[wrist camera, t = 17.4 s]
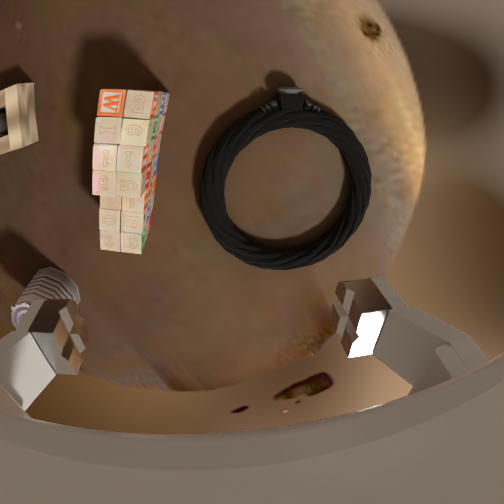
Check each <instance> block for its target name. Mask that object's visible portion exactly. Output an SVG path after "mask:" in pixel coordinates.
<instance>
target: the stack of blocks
mask: <svg viewBox="0 0 504 504" xmlns="http://www.w3.org/2000/svg"><path fill="white" fill-rule="evenodd" d="M169 95H170V93H167V92H162V91H150V90H136V89H101V90H100V95H99V103H98V110H97V117H96V122H95V134H94V143H95V144H94V145H93V162H92V168H93V172H92V195H100V208H99V229H100V249H103V250H111V251H118V252H120V251H122V252H128V253H136V254H142V251H143V249H144V246H145V241H146V238H147V235H148V232H149V229H150V226H151V216H152V208H153V200H154V190H155V182H156V174H157V172H156V170H157V163H158V156H159V148H160V141H161V135H162V132H163V126H164V120H165V115H166V110H167V105H168V100H169Z"/></svg>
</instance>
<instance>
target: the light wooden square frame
mask: <svg viewBox="0 0 504 504" xmlns="http://www.w3.org/2000/svg"><path fill="white" fill-rule="evenodd" d="M5 108H6V116H7V126H8V135H6V136H5V131H4V132H1V133H0V154H3V153H6V152H9V151H12V150H16V149H19V148H22V147H25V146H27V145H29V144H32V143H34V142H37V141H38V133H37V124H36V114H35V101H34V83H20V84H15V85H13V86H10V87H8V88H6V89H4V90H1V91H0V114H3V109H5Z"/></svg>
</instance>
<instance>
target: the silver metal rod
mask: <svg viewBox="0 0 504 504" xmlns="http://www.w3.org/2000/svg"><path fill="white" fill-rule="evenodd" d="M7 130H8V126H7V116H6V113H3V114H0V133H1V132H4V131H7Z"/></svg>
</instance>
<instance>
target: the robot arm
mask: <svg viewBox="0 0 504 504" xmlns="http://www.w3.org/2000/svg"><path fill="white" fill-rule="evenodd" d="M335 293H336V295H337V297H338V299H337V300H336V301H335V302H334V303H333V307H332V322H333V326H334V328H335V331H336V332H337V333H338V334H340V335H342V336H343V337H342V341H341V344H342V345H343V348H344V350H345V352H346V354H347V356H348V358H351V357H356V356H361V355H367V354H372V353H373V354H372V355H373V356H375V357H376V358H377V359H379V360H380V361H381V362H383V363H384V364H385V365H386V366H388V367H389V368H390V369H392V370H393V371H394V372H396V373H397V374H398V375H399V376H401V377H402V378H403V379H405V380H406V381H407V382H409V383H410V384H411V385H412V386H413V387H412V389H411V391H410V392H409V393H408V395H407V396H404V397H402V398H399V399H395V400H392V401H390V402H386V403H383V404H379V405H376V406H373V407H369V408H366V409H362V410H358V411H354V412H351V413H346V414H343V415H338V416H334V417H329V418H325V419H320V420H315V421H309V422H304V423H298V424H293V425H287V426H280V427H273V428H266V429H258V430H248V431H238V432H225V433H210V434H139V433H123V432H112V431H102V430H93V429H86V428H78V427H72V426H66V425H60V424H55V423H49V422H45V421H40V420H35V419H32V418H31V417H30V416H29V415H28V414H27V413H26V412H25V410H26V409H27V408H28V407H29V406H30V404H31V403H32V402H33V401H34V400H35V398H36V397H37V396H38V395H39V394H40V393H41V391H42V390H43V389H44V388H45V387H46V386H47V385H48V383H49V382H50V381H51V380H52V379H53V378H54V377H55V375H56V374H73V375H77V374H78V371H79V367H80V364H81V361H82V357H81V355H80V353H81V352H82V351H83V350H84V349H85V348H86V346H87V342H88V330H87V326H86V324H85V321H84V320H83V319H82V318H81V317H80V316H79V315H78V312H79V307H78V305H77V303H76V301H75V300H73V299H35V300H33V302H32V303H31V305H30V307H29V308H28V310H27V312H26V313H25V315H24V317H23V318H22V320H21V322H20V324H19V325H18V327H17V329H16V331H12V332H10V333H9V334H8V335H6V336H5V337H4V338H2V339H1V340H0V504H504V353H503V354H501V355H499V356H498V357H496V358H494V359H492V360H490V361H488V360H487V359H486V357H485V356H484V354H483V353H482V352H481V350H480V349H479V348H478V346H477V345H476V344H475V342H474V341H473V340H472V338H471V337H470V336H469V335H468V334H466V333H464V332H462V331H460V330H458V329H456V328H454V327H452V326H450V325H448V324H446V323H444V322H442V321H440V320H438V319H436V318H434V317H433V316H430V315H428V314H427V313H424V312H423V311H421V310H419V309H417V308H415V307H413V306H407V305H406V304H405V303H404V302H403V300H402V299H401V298H400V296H399V295H398V294H397V292H396V291H395V290H394V289H393V288H392V286H391V285H390V284H389V282H388V281H387V280H386V279H385V278H384V277H382V276H377V277H371V278H367V279H359V280H351V281H342V282H339V283H338V285H337V287H336V292H335ZM55 373H56V374H55Z"/></svg>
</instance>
